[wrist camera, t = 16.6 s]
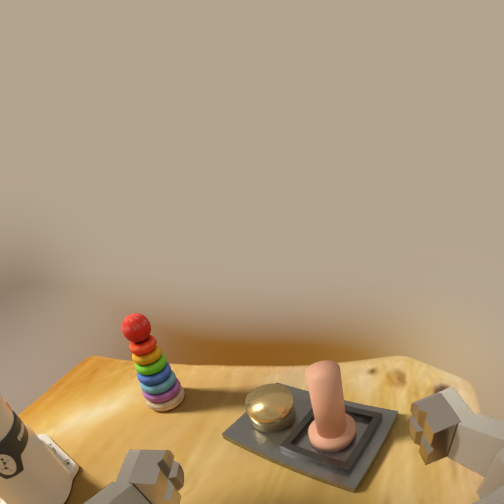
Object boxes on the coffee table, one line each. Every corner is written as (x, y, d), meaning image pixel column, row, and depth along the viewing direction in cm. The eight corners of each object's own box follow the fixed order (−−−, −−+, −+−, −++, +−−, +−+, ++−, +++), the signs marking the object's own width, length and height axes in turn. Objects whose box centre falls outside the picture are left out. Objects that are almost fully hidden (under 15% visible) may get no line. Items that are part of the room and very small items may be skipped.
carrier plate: (224, 438, 42) (214, 417, 40) (277, 387, 51) (272, 365, 50) (354, 492, 27) (354, 473, 26) (397, 416, 37) (399, 393, 35)
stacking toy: (155, 419, 48) (111, 331, 44) (143, 398, 55) (105, 317, 50) (192, 401, 52) (155, 313, 48) (177, 382, 59) (144, 301, 54)
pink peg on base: (301, 445, 36) (284, 382, 33) (323, 415, 41) (311, 351, 38) (343, 457, 32) (335, 393, 29) (363, 423, 36) (358, 357, 34)
